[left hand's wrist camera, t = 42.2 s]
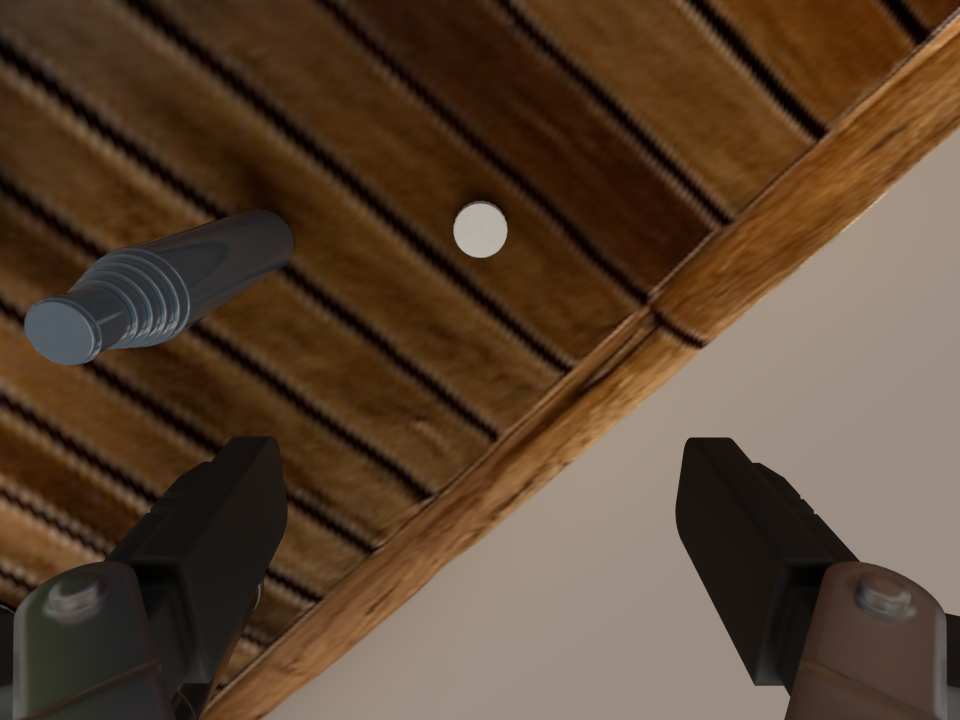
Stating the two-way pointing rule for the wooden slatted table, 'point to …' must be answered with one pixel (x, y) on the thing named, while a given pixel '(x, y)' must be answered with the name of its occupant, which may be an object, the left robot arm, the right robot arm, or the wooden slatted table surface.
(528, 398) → the wooden slatted table surface
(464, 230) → the cap
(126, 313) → the bottle
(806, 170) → the wooden slatted table surface
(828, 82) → the wooden slatted table surface
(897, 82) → the wooden slatted table surface
